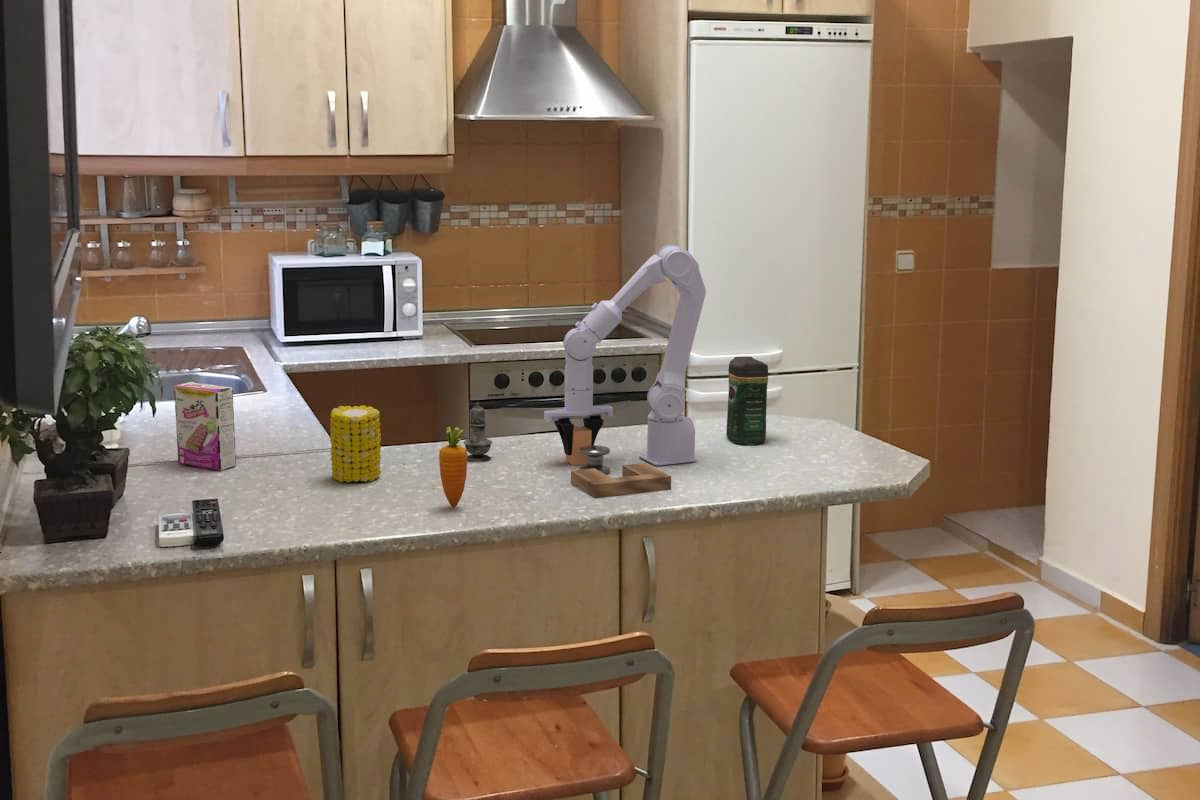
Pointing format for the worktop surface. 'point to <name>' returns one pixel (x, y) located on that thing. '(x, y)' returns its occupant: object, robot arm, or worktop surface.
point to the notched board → (621, 481)
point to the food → (355, 443)
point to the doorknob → (595, 457)
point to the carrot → (453, 467)
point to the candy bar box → (205, 426)
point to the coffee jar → (747, 400)
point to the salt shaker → (477, 436)
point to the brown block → (579, 445)
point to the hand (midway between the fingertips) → (578, 453)
